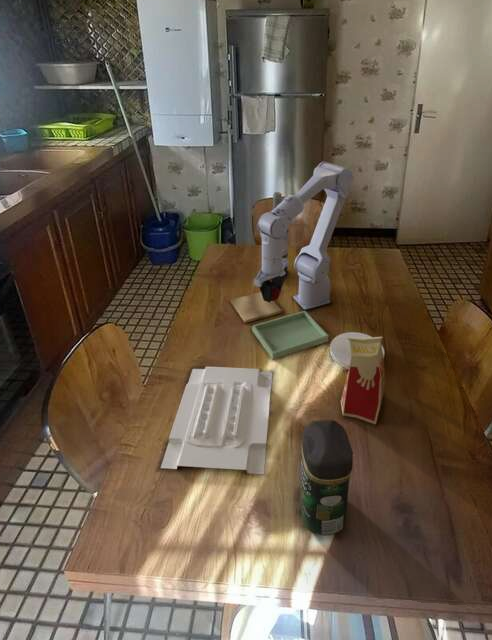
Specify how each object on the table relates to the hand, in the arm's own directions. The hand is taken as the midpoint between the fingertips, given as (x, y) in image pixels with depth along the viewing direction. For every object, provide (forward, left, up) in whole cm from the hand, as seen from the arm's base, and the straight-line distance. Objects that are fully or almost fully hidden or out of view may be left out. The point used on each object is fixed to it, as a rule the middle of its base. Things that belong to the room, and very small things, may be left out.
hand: (271, 297), depth 125 cm
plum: (0, 0, +1) cm, 1 cm away
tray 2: (-1, +9, -8) cm, 12 cm away
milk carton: (-4, +38, -9) cm, 39 cm away
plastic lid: (-13, +24, -9) cm, 29 cm away
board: (+2, -8, -8) cm, 12 cm away
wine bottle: (-13, -24, -9) cm, 29 cm away
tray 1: (+25, +27, -9) cm, 37 cm away
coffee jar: (+17, +55, -9) cm, 58 cm away
